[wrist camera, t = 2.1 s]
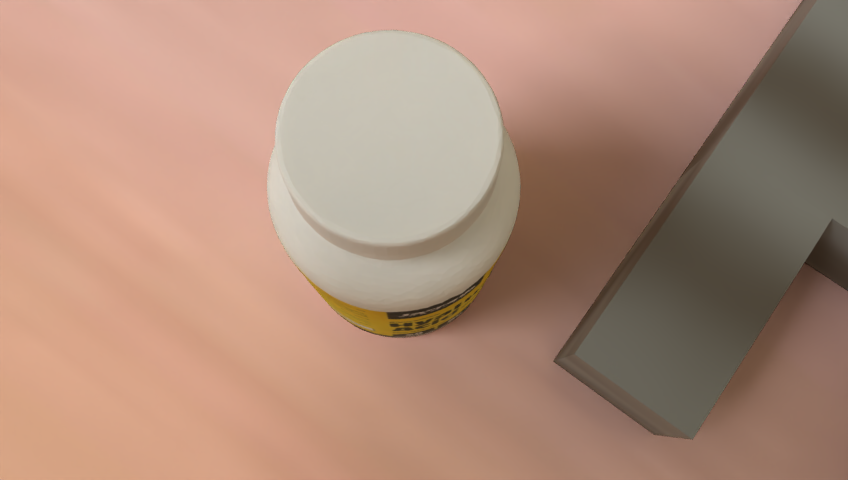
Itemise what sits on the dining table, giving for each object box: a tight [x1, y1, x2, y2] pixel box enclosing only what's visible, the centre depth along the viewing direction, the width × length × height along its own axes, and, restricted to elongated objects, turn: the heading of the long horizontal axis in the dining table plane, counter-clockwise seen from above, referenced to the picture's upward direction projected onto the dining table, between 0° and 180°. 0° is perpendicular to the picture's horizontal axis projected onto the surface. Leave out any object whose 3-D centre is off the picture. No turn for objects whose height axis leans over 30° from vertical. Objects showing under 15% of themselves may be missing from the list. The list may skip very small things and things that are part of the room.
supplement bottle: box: [267, 30, 521, 338], centre depth 17 cm, size 5×5×10 cm
